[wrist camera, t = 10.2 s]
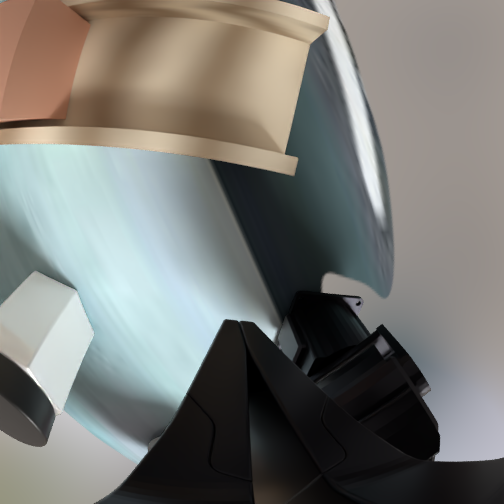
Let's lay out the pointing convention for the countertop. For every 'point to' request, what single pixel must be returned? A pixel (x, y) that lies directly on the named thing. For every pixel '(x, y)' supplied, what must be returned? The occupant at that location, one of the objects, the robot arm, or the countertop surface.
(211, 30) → the chute
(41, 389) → the jar
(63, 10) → the block
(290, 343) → the robot arm
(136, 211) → the countertop surface
